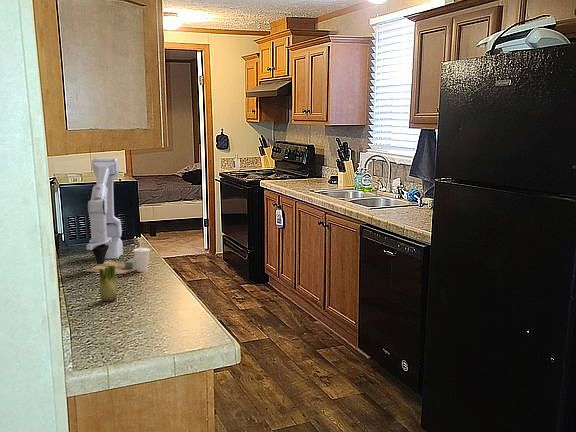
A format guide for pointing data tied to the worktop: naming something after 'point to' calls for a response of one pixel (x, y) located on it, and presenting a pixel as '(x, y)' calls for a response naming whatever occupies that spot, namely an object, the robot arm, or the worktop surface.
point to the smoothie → (141, 258)
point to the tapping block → (130, 263)
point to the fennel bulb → (108, 283)
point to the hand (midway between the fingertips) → (100, 263)
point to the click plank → (96, 268)
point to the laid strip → (122, 269)
